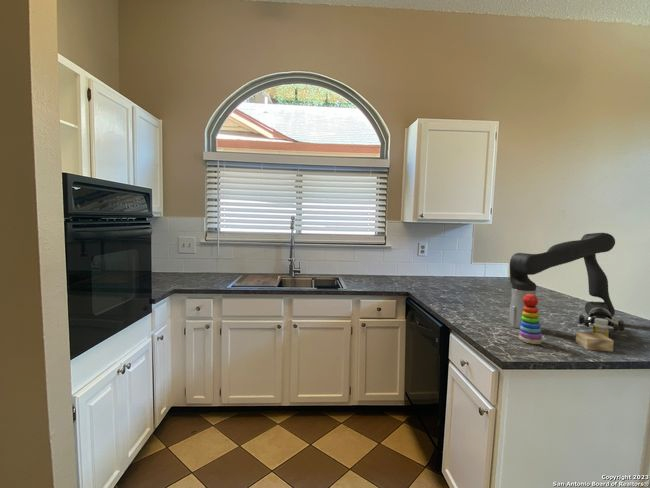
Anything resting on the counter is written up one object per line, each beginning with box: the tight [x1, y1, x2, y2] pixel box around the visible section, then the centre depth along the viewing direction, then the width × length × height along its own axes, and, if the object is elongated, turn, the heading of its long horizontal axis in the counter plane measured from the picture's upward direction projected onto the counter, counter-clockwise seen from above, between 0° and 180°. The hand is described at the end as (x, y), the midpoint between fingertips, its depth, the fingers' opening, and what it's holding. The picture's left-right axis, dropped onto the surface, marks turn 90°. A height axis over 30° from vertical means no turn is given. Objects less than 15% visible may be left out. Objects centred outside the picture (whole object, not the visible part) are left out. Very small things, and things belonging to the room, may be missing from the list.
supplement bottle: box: [592, 318, 610, 338], centre depth 124 cm, size 5×5×8 cm
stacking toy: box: [518, 294, 544, 345], centre depth 123 cm, size 8×8×19 cm
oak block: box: [575, 331, 615, 352], centre depth 118 cm, size 8×8×4 cm
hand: (601, 326), depth 122 cm, fingers open, 7 cm apart
